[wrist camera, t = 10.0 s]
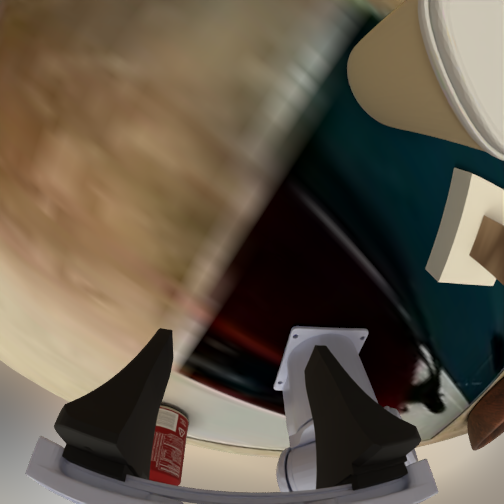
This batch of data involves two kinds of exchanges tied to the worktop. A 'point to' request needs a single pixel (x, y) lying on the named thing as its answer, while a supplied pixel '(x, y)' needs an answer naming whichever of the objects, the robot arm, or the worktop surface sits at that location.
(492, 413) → the wooden bowl
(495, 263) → the walnut brick
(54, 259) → the worktop surface
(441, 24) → the coffee cup
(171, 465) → the soda can
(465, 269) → the base brick
